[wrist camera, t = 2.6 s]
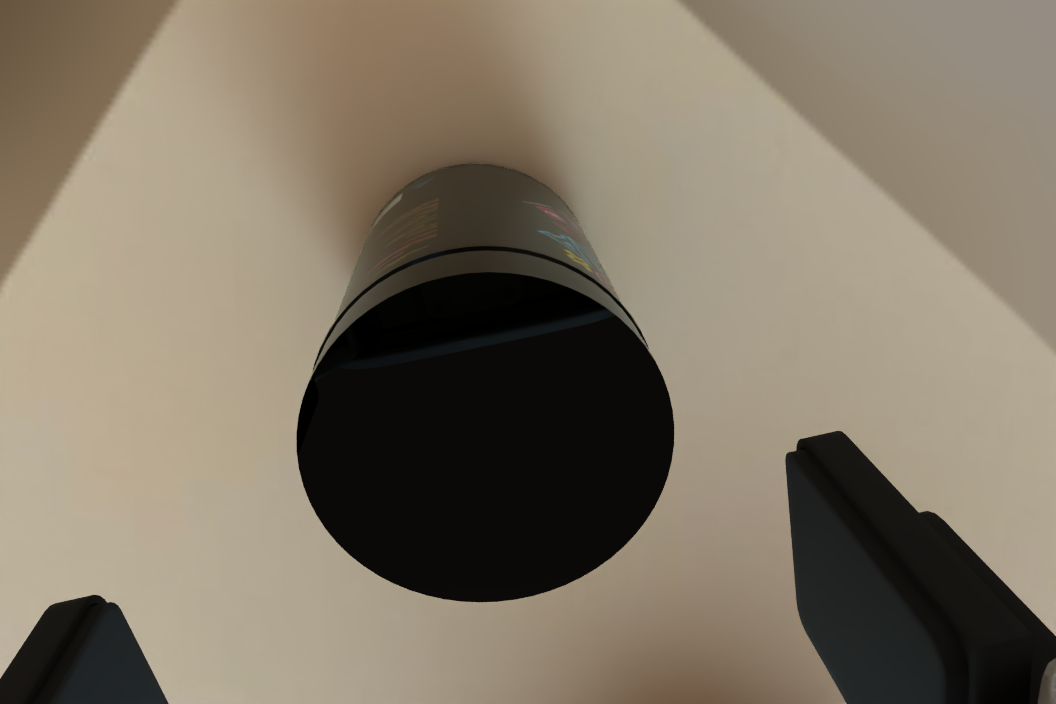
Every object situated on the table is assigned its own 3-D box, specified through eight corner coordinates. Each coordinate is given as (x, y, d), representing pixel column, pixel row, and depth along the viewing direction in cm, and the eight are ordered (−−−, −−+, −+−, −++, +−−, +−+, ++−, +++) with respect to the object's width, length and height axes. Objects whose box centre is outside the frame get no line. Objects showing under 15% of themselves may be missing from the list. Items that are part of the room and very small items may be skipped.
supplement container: (528, 408, 26) (568, 645, 16) (325, 325, 24) (240, 534, 15) (631, 219, 24) (746, 366, 14) (416, 114, 22) (385, 200, 13)
